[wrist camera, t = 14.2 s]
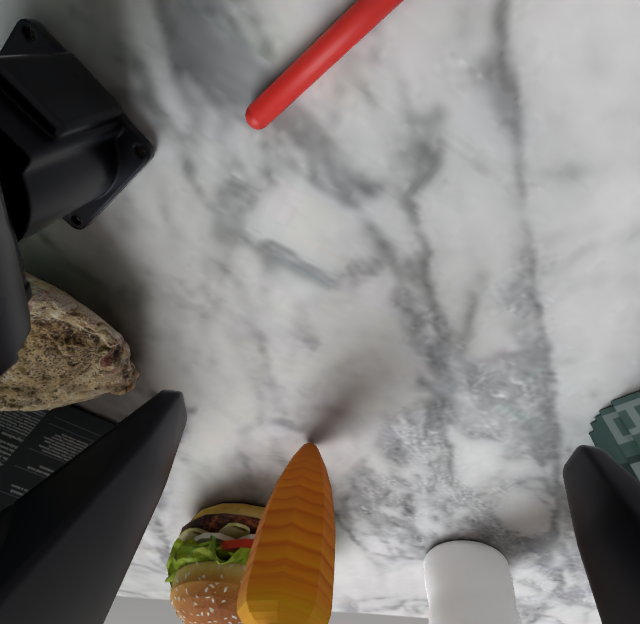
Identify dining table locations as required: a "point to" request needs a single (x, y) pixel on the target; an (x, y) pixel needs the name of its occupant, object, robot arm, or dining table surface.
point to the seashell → (65, 355)
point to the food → (212, 563)
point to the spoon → (318, 59)
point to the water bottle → (469, 585)
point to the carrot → (293, 549)
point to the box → (41, 445)
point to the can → (620, 432)
